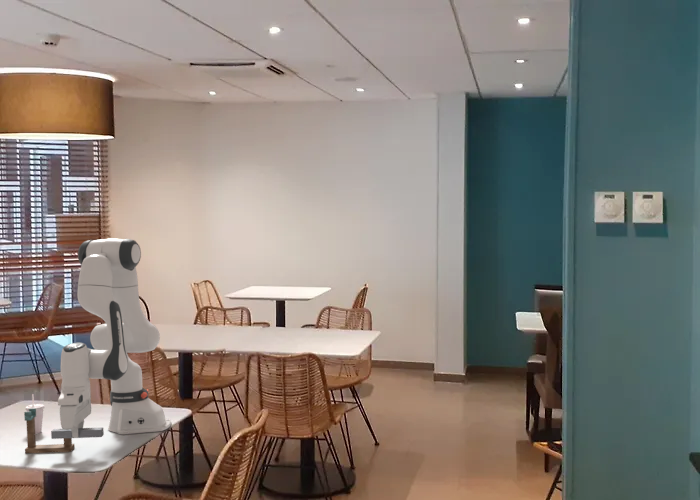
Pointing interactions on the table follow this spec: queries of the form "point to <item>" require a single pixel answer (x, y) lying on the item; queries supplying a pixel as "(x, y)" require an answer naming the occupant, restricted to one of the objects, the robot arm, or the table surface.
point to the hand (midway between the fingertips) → (77, 435)
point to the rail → (82, 433)
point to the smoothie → (37, 414)
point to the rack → (42, 448)
